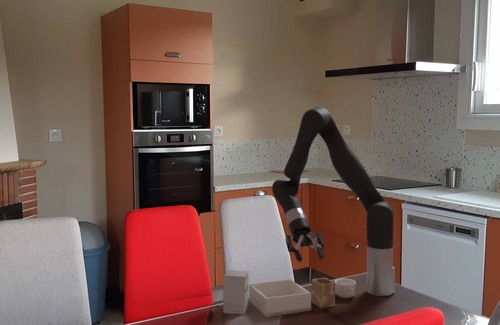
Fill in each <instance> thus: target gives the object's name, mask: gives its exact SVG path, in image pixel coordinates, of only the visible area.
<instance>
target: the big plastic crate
mask: <svg viewBox="0 0 500 325" xmlns="http://www.w3.org/2000/svg"><path fill="white" fill-rule="evenodd" d="M249 303H250V304H252V306H254V307H255V308H256V309H257V310H258V311H259V313H261V314H262V315H263V316H265V318H270V317H275V316H283V315H290V314H297V313H305V312H310V311H312V292H310V291H309V290H307V289H306V288H304V287H303V286H301V285H300V284H298V283H296V282H295V281H293V280H292V279H284V280H276V281H268V282H267V281H266V282H259V283H249Z"/></svg>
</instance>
